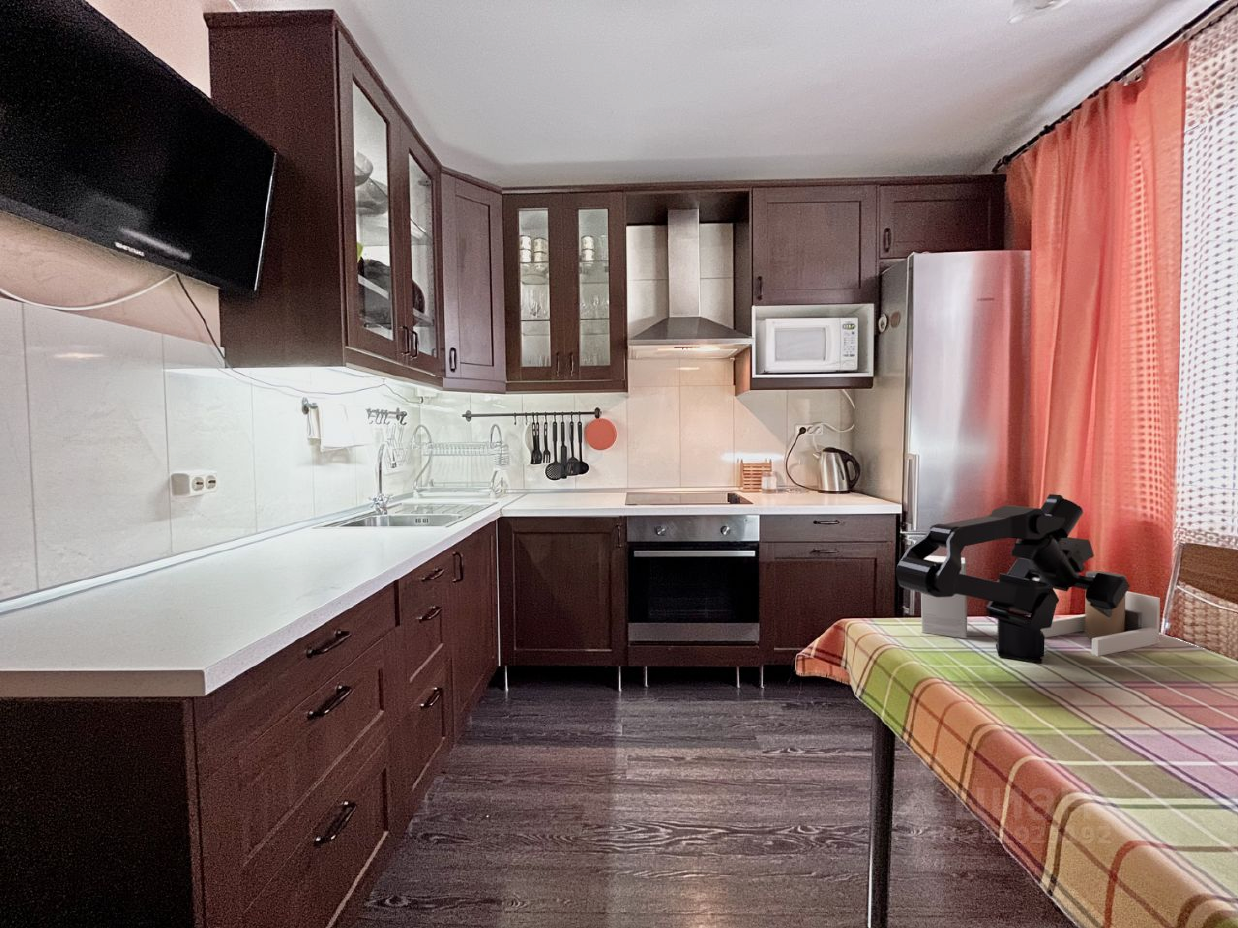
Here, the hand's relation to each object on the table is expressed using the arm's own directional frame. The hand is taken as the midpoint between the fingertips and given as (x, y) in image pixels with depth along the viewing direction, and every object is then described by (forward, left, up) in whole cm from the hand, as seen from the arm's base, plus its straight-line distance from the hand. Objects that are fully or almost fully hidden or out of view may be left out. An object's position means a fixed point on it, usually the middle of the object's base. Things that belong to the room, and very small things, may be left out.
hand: (1082, 608), depth 108 cm
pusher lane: (+3, +3, -7) cm, 8 cm away
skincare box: (-24, -6, -7) cm, 25 cm away
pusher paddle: (+7, +8, -6) cm, 12 cm away
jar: (+4, +5, -7) cm, 10 cm away
